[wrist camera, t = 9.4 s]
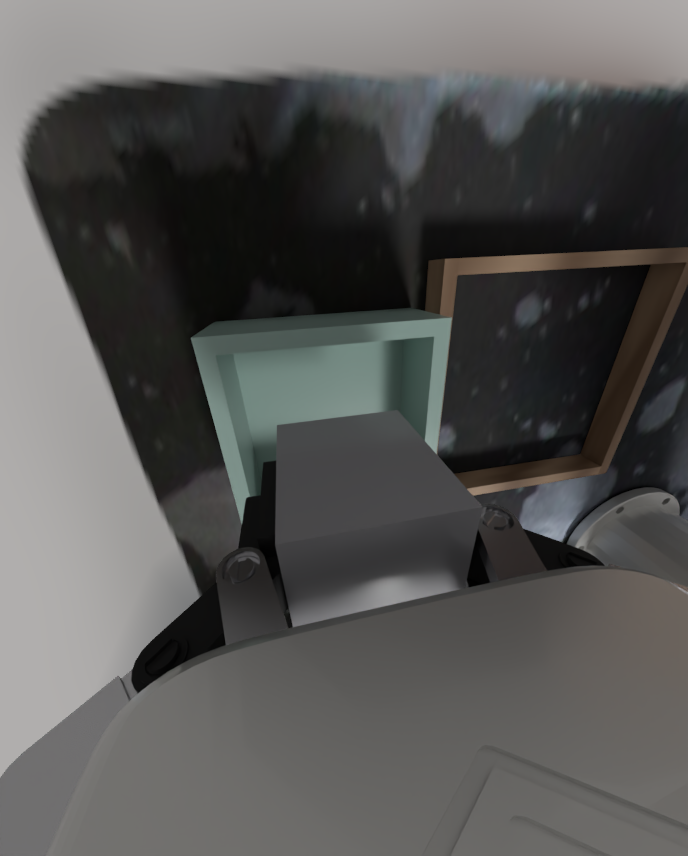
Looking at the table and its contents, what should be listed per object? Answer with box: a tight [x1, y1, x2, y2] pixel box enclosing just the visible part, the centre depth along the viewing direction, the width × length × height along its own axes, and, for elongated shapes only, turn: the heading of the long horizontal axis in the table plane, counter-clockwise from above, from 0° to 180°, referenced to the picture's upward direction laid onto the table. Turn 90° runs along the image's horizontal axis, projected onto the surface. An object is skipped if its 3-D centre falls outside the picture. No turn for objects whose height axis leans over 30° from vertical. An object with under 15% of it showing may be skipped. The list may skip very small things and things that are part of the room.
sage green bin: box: [191, 308, 452, 523], centre depth 18 cm, size 12×12×5 cm
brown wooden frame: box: [425, 247, 688, 495], centre depth 21 cm, size 17×17×2 cm
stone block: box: [275, 410, 483, 627], centre depth 11 cm, size 5×5×6 cm
